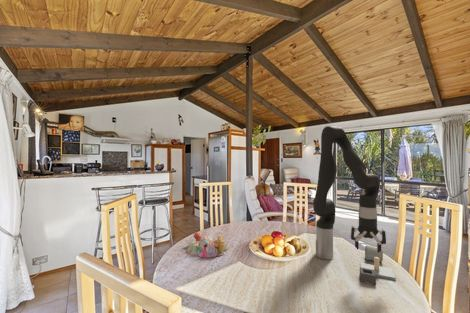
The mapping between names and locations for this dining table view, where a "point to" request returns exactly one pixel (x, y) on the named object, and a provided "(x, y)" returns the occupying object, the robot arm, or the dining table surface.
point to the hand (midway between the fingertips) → (367, 250)
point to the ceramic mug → (373, 253)
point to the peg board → (379, 269)
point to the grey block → (367, 276)
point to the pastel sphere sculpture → (207, 246)
